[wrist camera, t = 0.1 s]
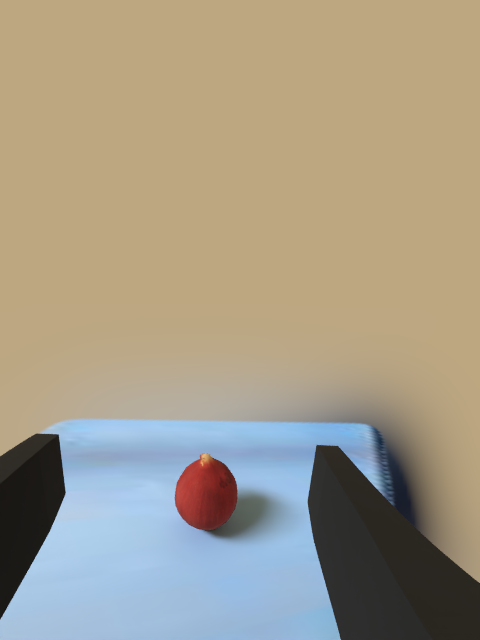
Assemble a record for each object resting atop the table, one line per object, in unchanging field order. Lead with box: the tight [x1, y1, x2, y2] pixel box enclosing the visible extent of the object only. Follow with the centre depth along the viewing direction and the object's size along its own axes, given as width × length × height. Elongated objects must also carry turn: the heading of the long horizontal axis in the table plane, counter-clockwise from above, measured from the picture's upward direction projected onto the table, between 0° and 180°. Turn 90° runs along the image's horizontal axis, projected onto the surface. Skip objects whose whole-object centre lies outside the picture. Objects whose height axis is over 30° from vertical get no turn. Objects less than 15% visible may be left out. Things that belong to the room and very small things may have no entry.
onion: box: [175, 453, 237, 530], centre depth 34 cm, size 6×6×8 cm
